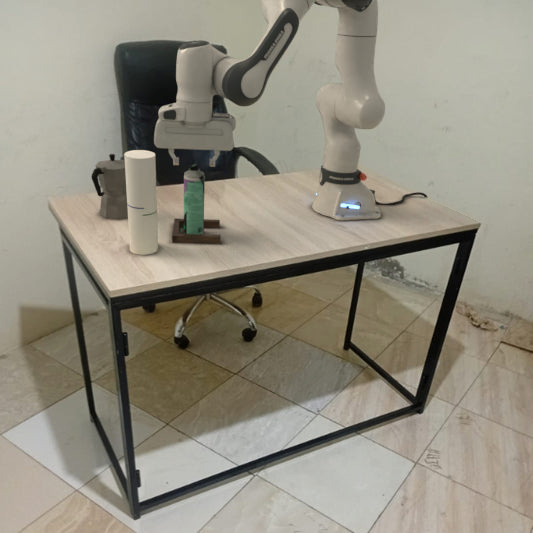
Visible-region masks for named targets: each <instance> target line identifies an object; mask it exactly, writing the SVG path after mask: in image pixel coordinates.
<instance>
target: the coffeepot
mask: <svg viewBox="0 0 533 533" xmlns="http://www.w3.org/2000/svg"><path fill="white" fill-rule="evenodd" d="M108 157H109V159H106V160H101V161H98V162H97V163H96V164H95V168H93V171H92V173H91V180H92V182H93V185H94V189H95V191H96V194H97V196H98V197H101V198H100V208H99V215H100V216H101V217H102V218H104V219H107V220H122V219H123V220H124V219H126V218H128V208H127V191H126V174H125V159H116V154H114V153H110V154H109V156H108Z"/></svg>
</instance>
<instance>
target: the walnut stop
mask: <svg viewBox="0 0 533 533" xmlns="http://www.w3.org/2000/svg"><path fill="white" fill-rule="evenodd" d="M220 225H221V219H211V218H210V219H209V218H208V219H206V218H204V229H207V228H208V229H220V227H221V226H220ZM180 228H184V218H176V217H175V218H174V219H173V227H172V234H171V243H172V244H174V243H175V244H176V243H177V244H213V245H214V244H219V245H220V244H221V243H222V237H221V234H207V233H205V234H204V233H203V234H184V233H180Z"/></svg>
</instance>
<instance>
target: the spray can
mask: <svg viewBox="0 0 533 533" xmlns="http://www.w3.org/2000/svg"><path fill="white" fill-rule="evenodd" d="M198 165H199V164H197V163H191V165H190V167H189V168H188V170H187V171H186V170H185V171H184V173H183V174H184V175H183V219H184V227H183V234H204V233H205V232H204V231H205V230H204V229H205V228H204V219H205V185H206V184H205V182H206V180H205V179H206V176H205V173H204V171H201V169H200V168H199V166H198Z"/></svg>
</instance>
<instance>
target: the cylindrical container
mask: <svg viewBox="0 0 533 533" xmlns="http://www.w3.org/2000/svg"><path fill="white" fill-rule="evenodd" d="M123 156H124V157H123V158H124V160H125V174H126V192H127V208H128V217H127V223H128V224H127V225H128V242H129V251H130V252H131V253H133V254H135V255H140V256H141V255H142V256H145V255H146V256H147V255H152V254H154V253H156V252H157V251H158V250H159V237H158V236H159V234H158V200H157V168H156V166H157V165H156V163H157V162H156V153H155V152H153V151H150V150H145V149H134V150H128V151H126V152H124V154H123Z"/></svg>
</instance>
